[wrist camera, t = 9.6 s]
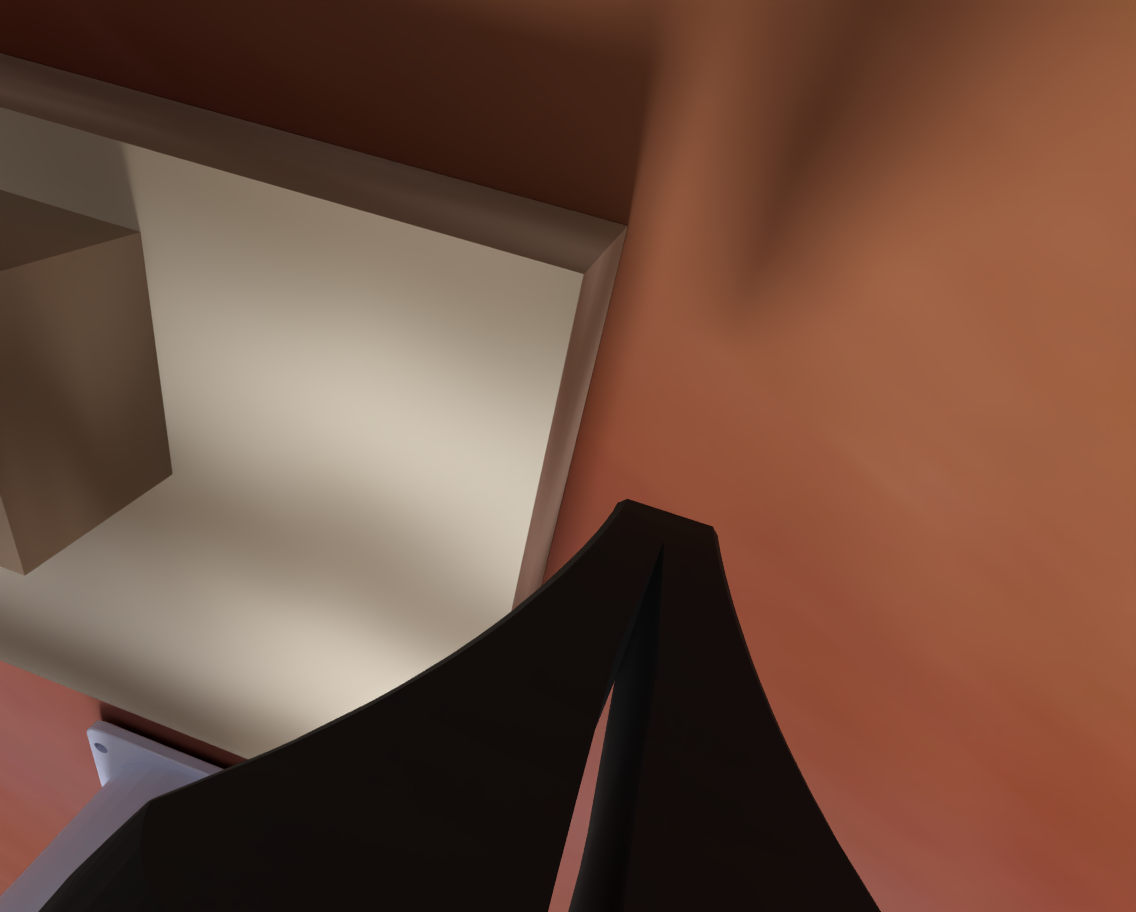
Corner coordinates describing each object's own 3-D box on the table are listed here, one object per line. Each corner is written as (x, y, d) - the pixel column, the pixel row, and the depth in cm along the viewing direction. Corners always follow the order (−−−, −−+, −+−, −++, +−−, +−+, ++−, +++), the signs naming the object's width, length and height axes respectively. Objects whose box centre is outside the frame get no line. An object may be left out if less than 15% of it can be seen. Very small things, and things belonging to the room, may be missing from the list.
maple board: (503, 739, 19) (461, 844, 17) (4, 551, 21) (-102, 619, 18) (627, 225, 12) (583, 273, 9) (-167, 7, 13) (-385, -3, 11)
